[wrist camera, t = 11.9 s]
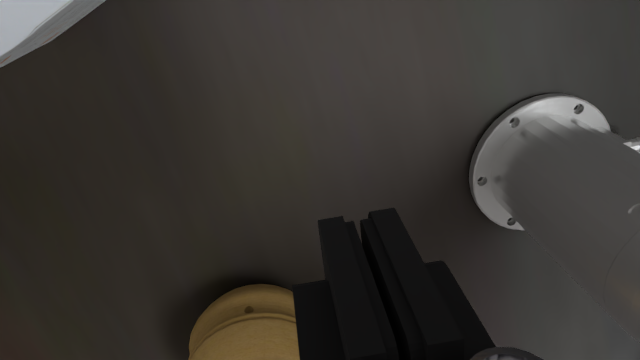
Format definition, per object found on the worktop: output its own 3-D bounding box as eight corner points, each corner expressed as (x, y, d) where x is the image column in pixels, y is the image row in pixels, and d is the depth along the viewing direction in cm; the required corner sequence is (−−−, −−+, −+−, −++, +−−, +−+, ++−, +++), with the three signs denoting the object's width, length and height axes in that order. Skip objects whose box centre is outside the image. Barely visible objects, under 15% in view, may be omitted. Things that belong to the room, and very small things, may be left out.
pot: (312, 254, 44) (331, 334, 35) (324, 349, 49) (344, 440, 40) (179, 277, 43) (164, 365, 34) (206, 372, 48) (200, 470, 39)
